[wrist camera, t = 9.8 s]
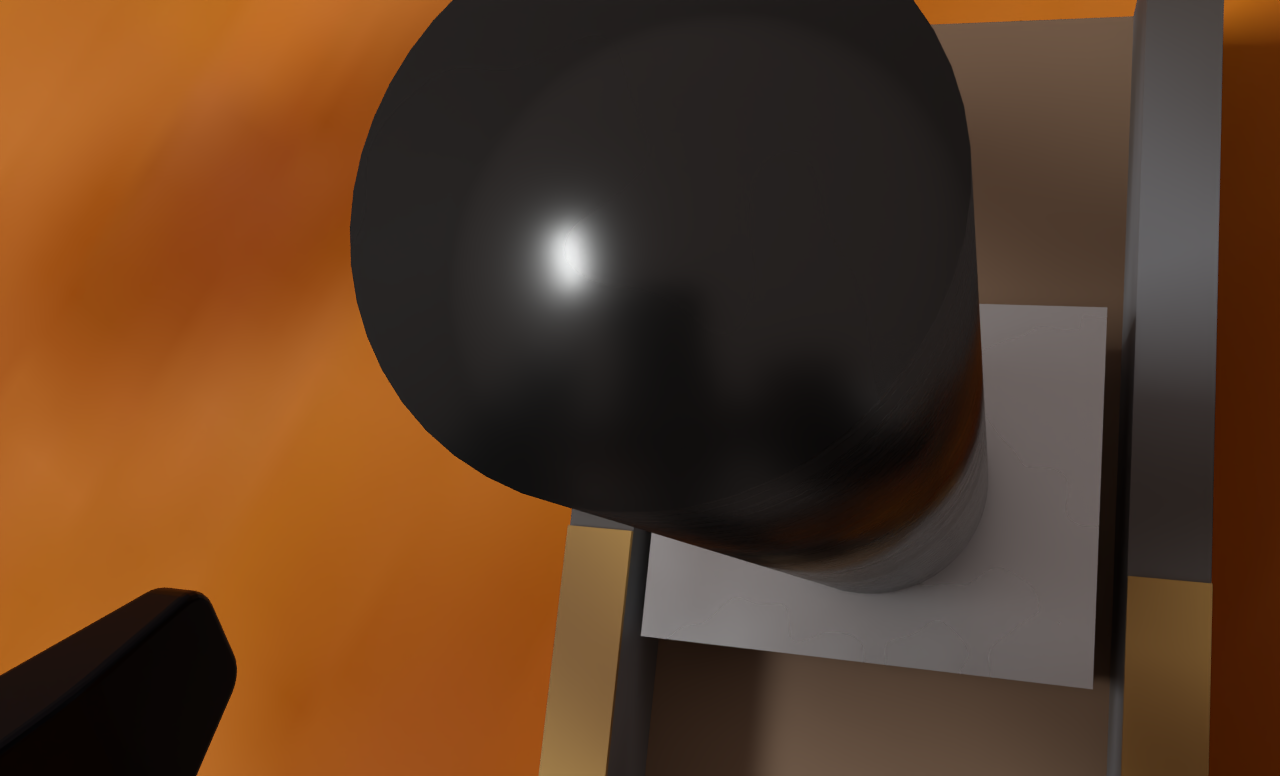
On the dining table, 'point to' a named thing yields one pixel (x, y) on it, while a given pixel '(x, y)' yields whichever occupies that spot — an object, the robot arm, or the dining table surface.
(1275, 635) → the dining table surface
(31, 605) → the dining table surface
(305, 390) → the dining table surface
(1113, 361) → the press base
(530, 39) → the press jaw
